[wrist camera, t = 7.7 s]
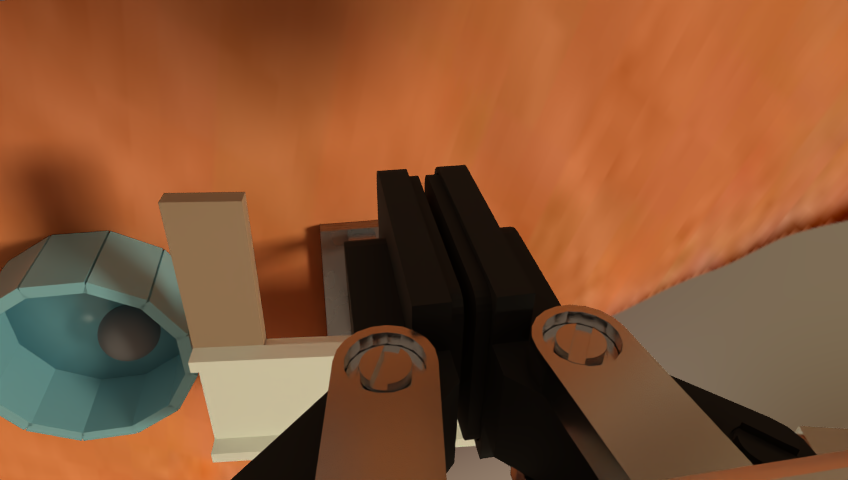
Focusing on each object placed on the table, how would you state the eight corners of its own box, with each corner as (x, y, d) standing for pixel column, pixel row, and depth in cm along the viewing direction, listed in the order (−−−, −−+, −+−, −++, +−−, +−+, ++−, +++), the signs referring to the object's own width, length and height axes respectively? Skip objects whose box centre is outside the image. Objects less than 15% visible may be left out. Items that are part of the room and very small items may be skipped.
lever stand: (399, 218, 43) (433, 313, 34) (397, 337, 50) (425, 445, 40) (319, 224, 42) (331, 325, 33) (328, 345, 49) (340, 458, 39)
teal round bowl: (186, 225, 40) (173, 274, 35) (216, 365, 47) (209, 423, 42) (-34, 241, 37) (-81, 296, 32) (34, 388, 45) (4, 451, 40)
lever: (575, 177, 32) (597, 206, 29) (530, 403, 42) (543, 441, 39) (170, 182, 30) (150, 214, 27) (223, 420, 40) (213, 462, 37)
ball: (165, 309, 40) (107, 338, 37) (176, 351, 42) (122, 382, 39) (136, 285, 42) (79, 311, 39) (148, 327, 44) (95, 354, 41)
